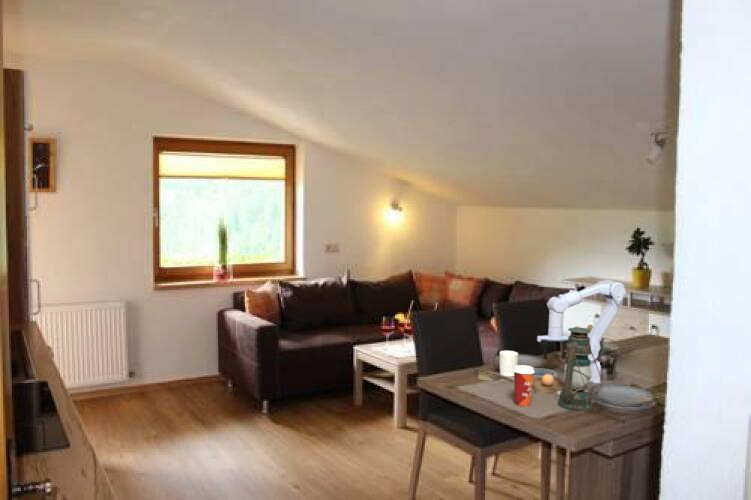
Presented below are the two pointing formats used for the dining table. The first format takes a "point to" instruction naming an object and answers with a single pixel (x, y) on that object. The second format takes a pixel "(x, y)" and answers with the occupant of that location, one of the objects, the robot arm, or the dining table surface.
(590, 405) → the lantern
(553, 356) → the dining table surface
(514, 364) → the white cup
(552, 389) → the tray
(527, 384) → the paper cup
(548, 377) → the ball
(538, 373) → the bowl
